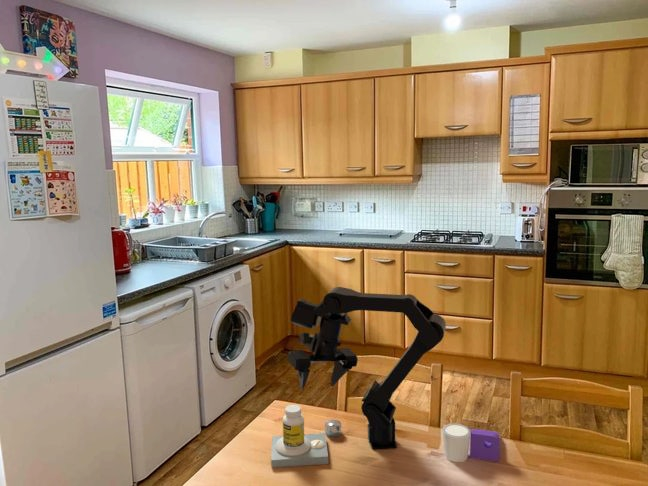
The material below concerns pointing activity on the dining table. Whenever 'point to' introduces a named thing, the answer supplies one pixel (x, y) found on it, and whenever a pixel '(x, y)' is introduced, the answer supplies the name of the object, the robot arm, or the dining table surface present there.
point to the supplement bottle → (293, 427)
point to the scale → (300, 452)
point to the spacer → (332, 428)
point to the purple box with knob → (484, 445)
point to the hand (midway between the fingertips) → (317, 386)
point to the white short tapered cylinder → (456, 442)
